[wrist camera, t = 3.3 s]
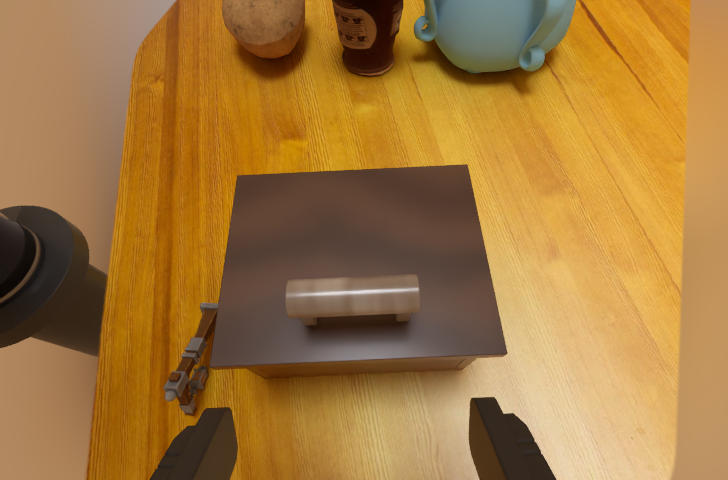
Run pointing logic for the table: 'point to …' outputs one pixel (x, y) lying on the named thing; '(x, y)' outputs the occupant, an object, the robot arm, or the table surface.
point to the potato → (265, 25)
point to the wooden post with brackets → (192, 363)
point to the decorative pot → (495, 31)
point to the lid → (355, 270)
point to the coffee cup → (368, 33)
